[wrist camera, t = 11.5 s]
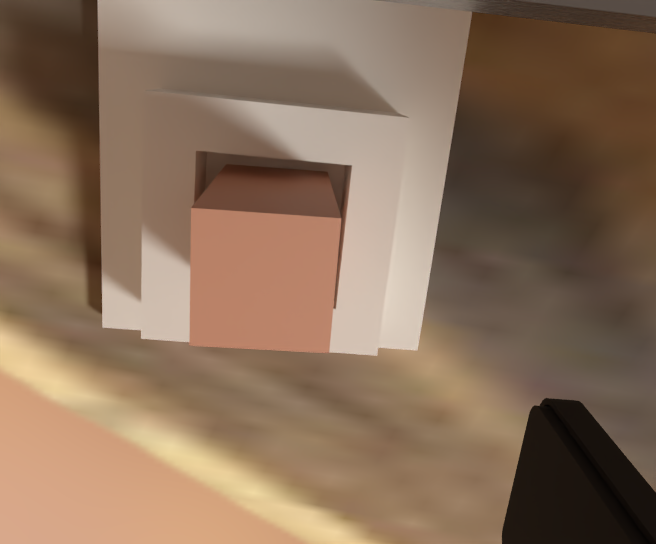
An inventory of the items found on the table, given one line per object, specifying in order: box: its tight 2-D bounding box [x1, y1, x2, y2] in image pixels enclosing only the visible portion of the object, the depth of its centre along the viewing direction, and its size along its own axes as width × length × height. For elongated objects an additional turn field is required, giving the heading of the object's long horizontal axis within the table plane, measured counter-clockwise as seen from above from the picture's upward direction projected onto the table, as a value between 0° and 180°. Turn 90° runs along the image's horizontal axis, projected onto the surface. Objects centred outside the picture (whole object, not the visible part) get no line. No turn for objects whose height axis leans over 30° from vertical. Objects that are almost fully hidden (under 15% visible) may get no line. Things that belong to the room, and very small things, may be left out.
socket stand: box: [98, 0, 472, 356], centre depth 25 cm, size 15×20×4 cm
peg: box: [189, 164, 341, 353], centre depth 23 cm, size 4×4×9 cm
